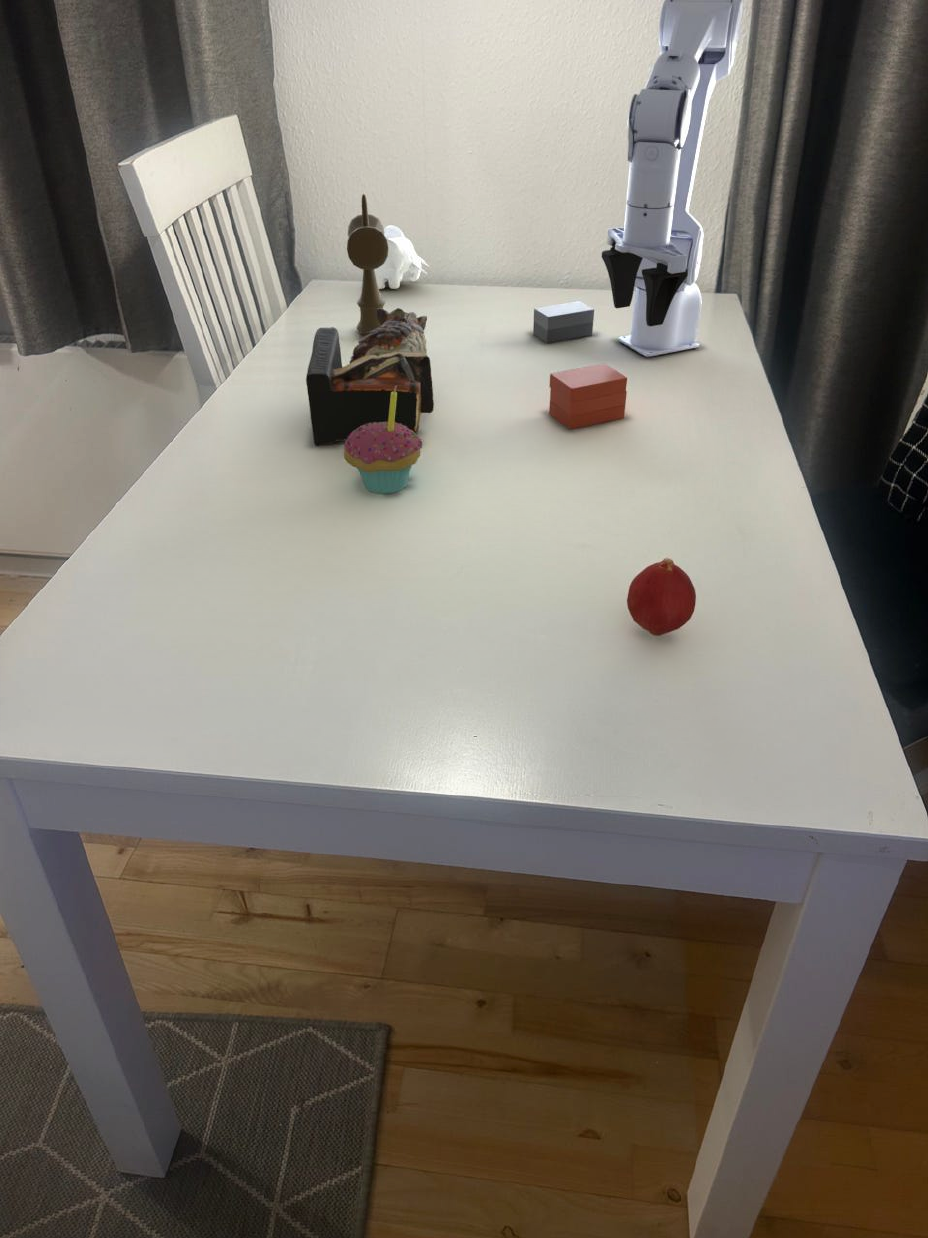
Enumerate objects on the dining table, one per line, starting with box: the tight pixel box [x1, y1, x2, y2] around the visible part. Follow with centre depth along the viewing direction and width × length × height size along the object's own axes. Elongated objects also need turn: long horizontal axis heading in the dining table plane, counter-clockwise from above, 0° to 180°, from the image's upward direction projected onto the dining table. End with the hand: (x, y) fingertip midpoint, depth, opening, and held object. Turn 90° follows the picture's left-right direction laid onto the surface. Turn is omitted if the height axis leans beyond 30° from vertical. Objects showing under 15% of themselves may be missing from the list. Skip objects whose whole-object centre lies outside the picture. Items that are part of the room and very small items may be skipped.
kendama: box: [346, 193, 389, 336], centre depth 137 cm, size 6×10×20 cm, turn 7°
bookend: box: [305, 308, 435, 446], centre depth 118 cm, size 15×11×25 cm
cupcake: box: [343, 386, 423, 495], centre depth 100 cm, size 9×8×12 cm
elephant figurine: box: [374, 224, 430, 290], centre depth 159 cm, size 10×12×9 cm
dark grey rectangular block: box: [532, 321, 594, 344], centre depth 140 cm, size 8×4×2 cm, turn 115°
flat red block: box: [549, 362, 628, 402], centre depth 115 cm, size 8×5×2 cm
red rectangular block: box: [548, 400, 626, 430], centre depth 117 cm, size 8×5×2 cm
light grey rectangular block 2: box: [533, 300, 595, 330], centre depth 139 cm, size 8×4×2 cm, turn 115°
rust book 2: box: [549, 388, 628, 416], centre depth 116 cm, size 8×5×2 cm
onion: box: [626, 557, 697, 637], centre depth 79 cm, size 6×6×8 cm
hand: (638, 315), depth 118 cm, fingers open, 7 cm apart
